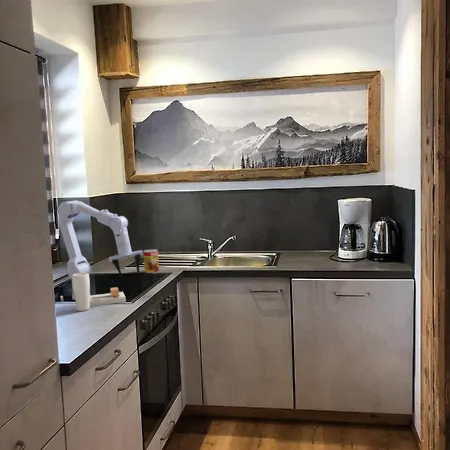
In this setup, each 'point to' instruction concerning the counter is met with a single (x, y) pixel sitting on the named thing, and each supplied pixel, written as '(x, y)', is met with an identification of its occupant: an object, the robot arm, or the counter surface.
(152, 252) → the canned food
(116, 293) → the breaker toggle
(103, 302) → the panel
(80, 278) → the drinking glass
